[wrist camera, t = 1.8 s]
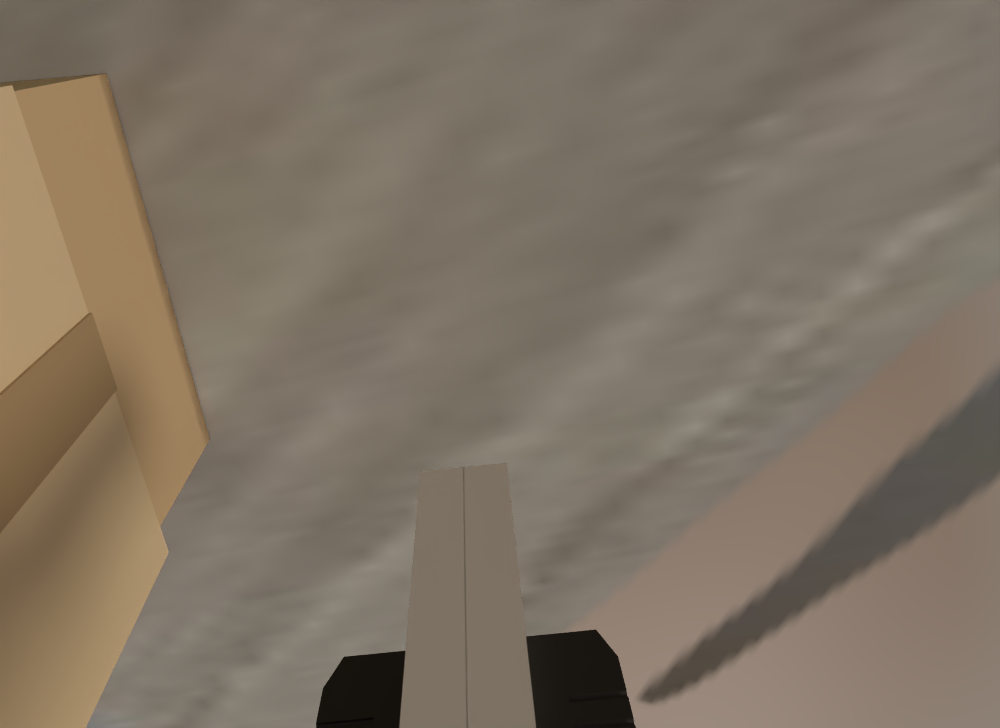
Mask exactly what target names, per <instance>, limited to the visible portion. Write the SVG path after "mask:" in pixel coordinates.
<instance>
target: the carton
mask: <svg viewBox="0 0 1000 728" xmlns="http://www.w3.org/2000/svg"><path fill="white" fill-rule="evenodd" d="M9 85H12V86H13V89H14V92H15V95H16V98H17V101H18V104H19V107H20V110H21V113H22V116H23V119H24V122H25V125H26V128H27V131H28V134H29V137H30V140H31V143H32V146H33V149H34V152H35V155H36V158H37V161H38V164H39V167H40V170H41V173H42V176H43V179H44V182H45V185H46V187H47V190H48V193H49V196H50V199H51V202H52V205H53V208H54V211H55V214H56V217H57V220H58V223H59V226H60V229H61V232H62V235H63V238H64V241H65V244H66V247H67V250H68V253H69V256H70V259H71V262H72V265H73V268H74V271H75V274H76V277H77V280H78V283H79V286H80V289H81V292H82V295H83V298H84V301H85V304H86V307H87V310H88V313H92V314H93V317H94V320H95V323H96V326H97V329H98V332H99V335H100V338H101V341H102V344H103V347H104V350H105V353H106V356H107V359H108V362H109V365H110V368H111V371H112V374H113V377H114V380H115V383H116V386H117V390H116V392H115V394H116V397H117V400H118V403H119V406H120V409H121V412H122V415H123V418H124V421H125V424H126V426H127V429H128V432H129V435H130V438H131V441H132V444H133V447H134V450H135V453H136V456H137V459H138V462H139V465H140V468H141V471H142V474H143V477H144V480H145V483H146V486H147V489H148V492H149V495H150V498H151V501H152V504H153V507H154V510H155V513H156V516H157V519H158V522H159V525H160V526H161V524H162V522H163V520H164V519H165V517H166V515H167V513H168V512H169V510H170V508H171V506H172V505H173V503H174V501H175V499H176V498H177V496H178V494H179V492H180V490H181V489H182V487H183V485H184V483H185V482H186V480H187V478H188V476H189V475H190V473H191V471H192V469H193V468H194V466H195V464H196V462H197V461H198V459H199V457H200V455H201V453H202V452H203V450H204V448H205V446H206V445H207V443H208V441H209V439H210V438H209V434H208V431H207V427H206V424H205V420H204V417H203V413H202V410H201V406H200V403H199V399H198V395H197V392H196V388H195V385H194V381H193V378H192V374H191V371H190V367H189V364H188V360H187V357H186V353H185V349H184V346H183V342H182V339H181V335H180V332H179V328H178V325H177V321H176V318H175V314H174V311H173V307H172V303H171V300H170V296H169V293H168V289H167V286H166V282H165V279H164V275H163V272H162V268H161V265H160V261H159V257H158V254H157V250H156V247H155V243H154V240H153V236H152V233H151V229H150V226H149V222H148V219H147V215H146V211H145V208H144V204H143V201H142V197H141V194H140V190H139V187H138V183H137V180H136V176H135V173H134V169H133V165H132V162H131V158H130V155H129V151H128V148H127V144H126V141H125V137H124V134H123V130H122V127H121V123H120V119H119V116H118V112H117V109H116V105H115V102H114V98H113V95H112V91H111V88H110V84H109V81H108V77H107V73H106V74H95V75H83V76H72V77H61V78H49V79H38V80H27V81H15V82H4V83H0V86H9Z"/></svg>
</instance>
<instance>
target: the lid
mask: <svg viewBox="0 0 1000 728" xmlns="http://www.w3.org/2000/svg"><path fill="white" fill-rule="evenodd" d="M116 390H117V386H116V383H115V380H114V377H113V374H112V371H111V368H110V365H109V362H108V359H107V356H106V353H105V350H104V347H103V344H102V341H101V338H100V335H99V332H98V329H97V326H96V323H95V320H94V317H93V314H92V313H88V310H87V307H86V304H85V301H84V298H83V295H82V292H81V289H80V286H79V283H78V280H77V277H76V274H75V271H74V268H73V265H72V262H71V259H70V256H69V253H68V250H67V247H66V244H65V241H64V238H63V235H62V232H61V229H60V226H59V223H58V220H57V217H56V214H55V211H54V208H53V205H52V202H51V199H50V196H49V193H48V190H47V187H46V185H45V182H44V179H43V176H42V173H41V170H40V167H39V164H38V161H37V158H36V155H35V152H34V149H33V146H32V143H31V140H30V137H29V134H28V131H27V128H26V125H25V122H24V119H23V116H22V113H21V110H20V107H19V104H18V101H17V98H16V95H15V92H14V89H13V86H12V85H9V86H0V728H86V726H87V724H88V722H89V720H90V717H91V715H92V713H93V711H94V709H95V707H96V705H97V703H98V701H99V698H100V696H101V694H102V692H103V690H104V688H105V686H106V684H107V682H108V679H109V677H110V675H111V673H112V671H113V669H114V667H115V665H116V663H117V660H118V658H119V656H120V654H121V652H122V650H123V648H124V646H125V644H126V641H127V639H128V637H129V635H130V633H131V631H132V629H133V627H134V625H135V622H136V620H137V618H138V616H139V614H140V612H141V610H142V608H143V606H144V603H145V601H146V599H147V597H148V595H149V593H150V591H151V589H152V587H153V584H154V582H155V580H156V578H157V576H158V574H159V572H160V570H161V568H162V565H163V563H164V561H165V559H166V557H167V555H168V553H169V552H168V549H167V546H166V543H165V540H164V537H163V534H162V531H161V528H160V525H159V522H158V519H157V516H156V513H155V510H154V507H153V504H152V501H151V498H150V495H149V492H148V489H147V486H146V483H145V480H144V477H143V474H142V471H141V468H140V465H139V462H138V459H137V456H136V453H135V450H134V447H133V444H132V441H131V438H130V435H129V432H128V429H127V426H126V424H125V421H124V418H123V415H122V412H121V409H120V406H119V403H118V400H117V397H116V394H115V392H116Z"/></svg>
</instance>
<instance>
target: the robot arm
mask: <svg viewBox="0 0 1000 728" xmlns="http://www.w3.org/2000/svg"><path fill="white" fill-rule="evenodd" d="M316 728H636V727H635V725H634V720H633V714H632V710H631V706H630V702H629V698H628V697H627V692H626V687H625V683H624V679H623V675H622V671H621V667H620V663H619V659H618V656H617V655H616V654H615V652H614V651H613V650H612V649H611V648H610V646H609V645H608V644H607V643H606V641H605V640H604V639H603V638H602V637H601V635H600V634H599V633H598V632H597V630H589V631H578V632H568V633H558V634H548V635H538V636H527V637H526V632H525V623H524V614H523V605H522V596H521V587H520V578H519V569H518V560H517V551H516V542H515V533H514V524H513V515H512V506H511V497H510V488H509V479H508V470H507V463H501V464H491V465H480V466H470V467H459V468H449V469H438V470H428V471H420V481H419V493H418V505H417V517H416V530H415V542H414V554H413V566H412V579H411V591H410V603H409V615H408V628H407V640H406V651H399V652H389V653H378V654H368V655H358V656H348V657H344V658H343V659H342V661H341V662H340V664H339V665H338V667H337V668H336V670H335V671H334V673H333V674H332V676H331V677H330V679H329V680H328V682H327V683H326V685H325V686H324V688H323V691H322V696H321V701H320V706H319V711H318V716H317V721H316Z"/></svg>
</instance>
